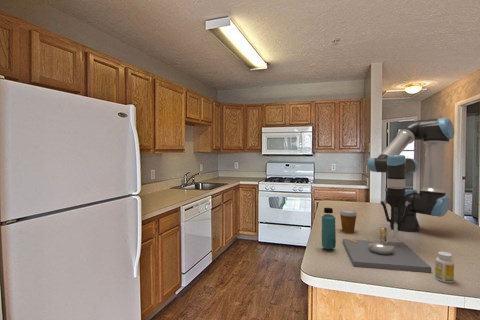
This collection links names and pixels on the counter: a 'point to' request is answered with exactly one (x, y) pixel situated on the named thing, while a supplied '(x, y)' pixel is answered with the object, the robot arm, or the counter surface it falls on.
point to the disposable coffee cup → (348, 220)
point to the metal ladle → (381, 244)
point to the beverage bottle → (328, 229)
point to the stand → (384, 257)
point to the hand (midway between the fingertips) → (395, 236)
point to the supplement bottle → (444, 267)
